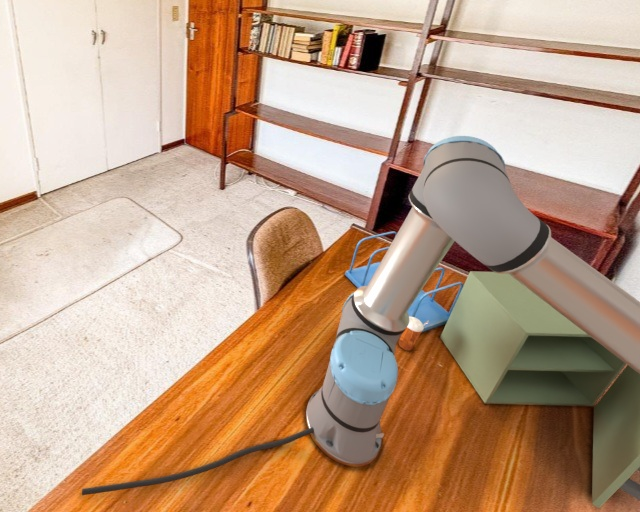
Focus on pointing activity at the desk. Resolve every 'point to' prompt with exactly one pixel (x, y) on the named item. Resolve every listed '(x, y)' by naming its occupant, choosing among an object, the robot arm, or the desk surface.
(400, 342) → the milkshake
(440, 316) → the file sorter
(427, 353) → the desk surface
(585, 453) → the desk surface
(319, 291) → the desk surface
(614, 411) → the door
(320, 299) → the desk surface
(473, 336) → the cupboard
